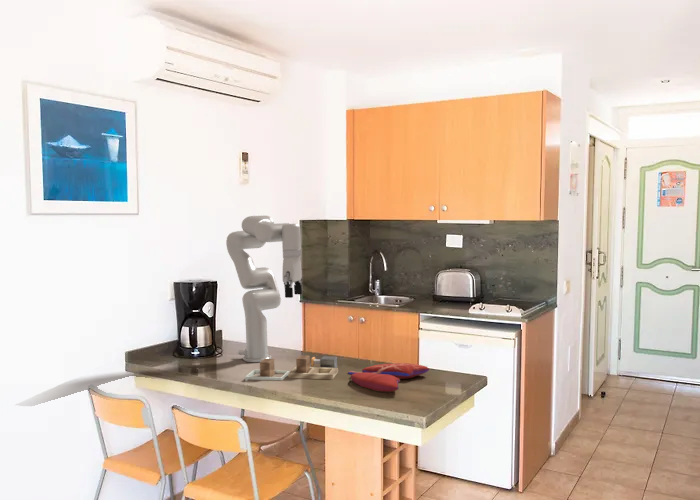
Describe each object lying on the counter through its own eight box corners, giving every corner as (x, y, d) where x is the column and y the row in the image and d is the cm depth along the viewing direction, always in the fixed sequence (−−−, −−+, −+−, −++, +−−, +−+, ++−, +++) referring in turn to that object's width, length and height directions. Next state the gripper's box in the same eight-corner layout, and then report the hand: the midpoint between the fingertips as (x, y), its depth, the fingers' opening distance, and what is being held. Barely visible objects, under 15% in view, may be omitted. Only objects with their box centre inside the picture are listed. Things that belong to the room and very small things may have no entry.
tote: (245, 382, 240) (244, 376, 239) (254, 375, 250) (253, 369, 249) (282, 383, 237) (282, 377, 237) (289, 376, 247) (289, 370, 247)
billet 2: (296, 376, 242) (296, 358, 241) (300, 372, 248) (300, 355, 247) (306, 376, 241) (305, 359, 241) (310, 372, 247) (309, 355, 246)
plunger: (311, 366, 252) (311, 359, 252) (313, 363, 256) (313, 356, 255) (322, 366, 251) (322, 359, 251) (324, 364, 255) (324, 357, 255)
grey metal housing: (320, 372, 251) (320, 359, 250) (323, 369, 256) (322, 356, 255) (334, 372, 250) (334, 359, 249) (337, 369, 255) (336, 356, 254)
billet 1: (260, 379, 240) (259, 362, 240) (265, 375, 246) (264, 358, 246) (270, 380, 240) (269, 362, 239) (274, 375, 246) (274, 358, 245)
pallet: (288, 380, 240) (288, 373, 240) (295, 373, 251) (295, 366, 251) (332, 382, 237) (332, 375, 236) (338, 374, 247) (338, 367, 247)
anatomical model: (431, 381, 242) (365, 375, 258) (430, 363, 242) (365, 358, 258) (396, 395, 216) (326, 388, 232) (396, 375, 216) (326, 369, 232)
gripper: (291, 252, 256) (293, 293, 257) (274, 255, 239) (276, 298, 240) (308, 252, 254) (309, 293, 255) (292, 255, 237) (294, 298, 238)
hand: (293, 295), depth 248 cm, fingers open, 9 cm apart
